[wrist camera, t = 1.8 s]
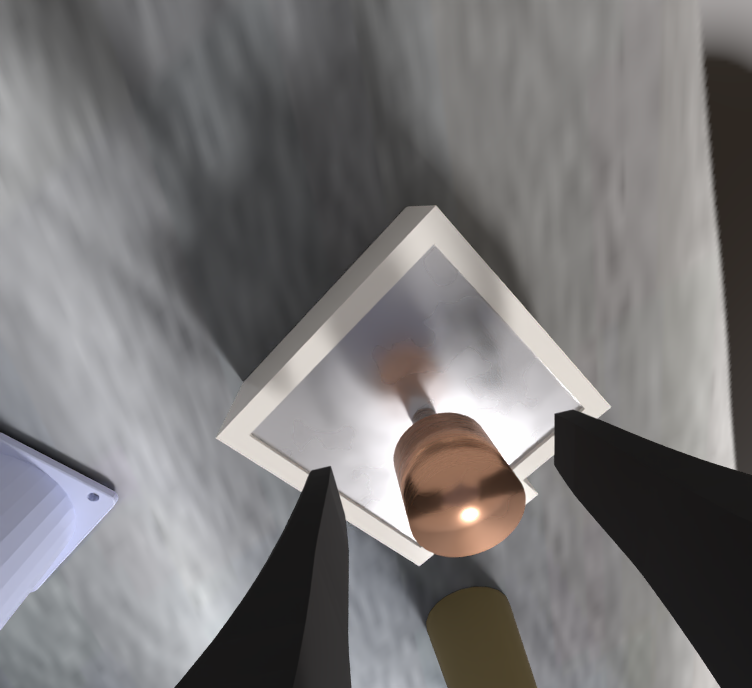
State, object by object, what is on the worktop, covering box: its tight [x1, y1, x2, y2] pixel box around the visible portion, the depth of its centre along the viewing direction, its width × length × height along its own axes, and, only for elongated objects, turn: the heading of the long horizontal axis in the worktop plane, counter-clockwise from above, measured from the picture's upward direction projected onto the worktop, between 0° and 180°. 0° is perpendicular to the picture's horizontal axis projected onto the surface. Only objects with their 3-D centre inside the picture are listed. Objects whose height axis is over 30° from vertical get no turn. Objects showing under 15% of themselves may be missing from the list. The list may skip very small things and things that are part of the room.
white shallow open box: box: [216, 205, 611, 566], centre depth 16 cm, size 13×11×4 cm
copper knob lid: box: [251, 245, 582, 557], centre depth 12 cm, size 9×9×5 cm
